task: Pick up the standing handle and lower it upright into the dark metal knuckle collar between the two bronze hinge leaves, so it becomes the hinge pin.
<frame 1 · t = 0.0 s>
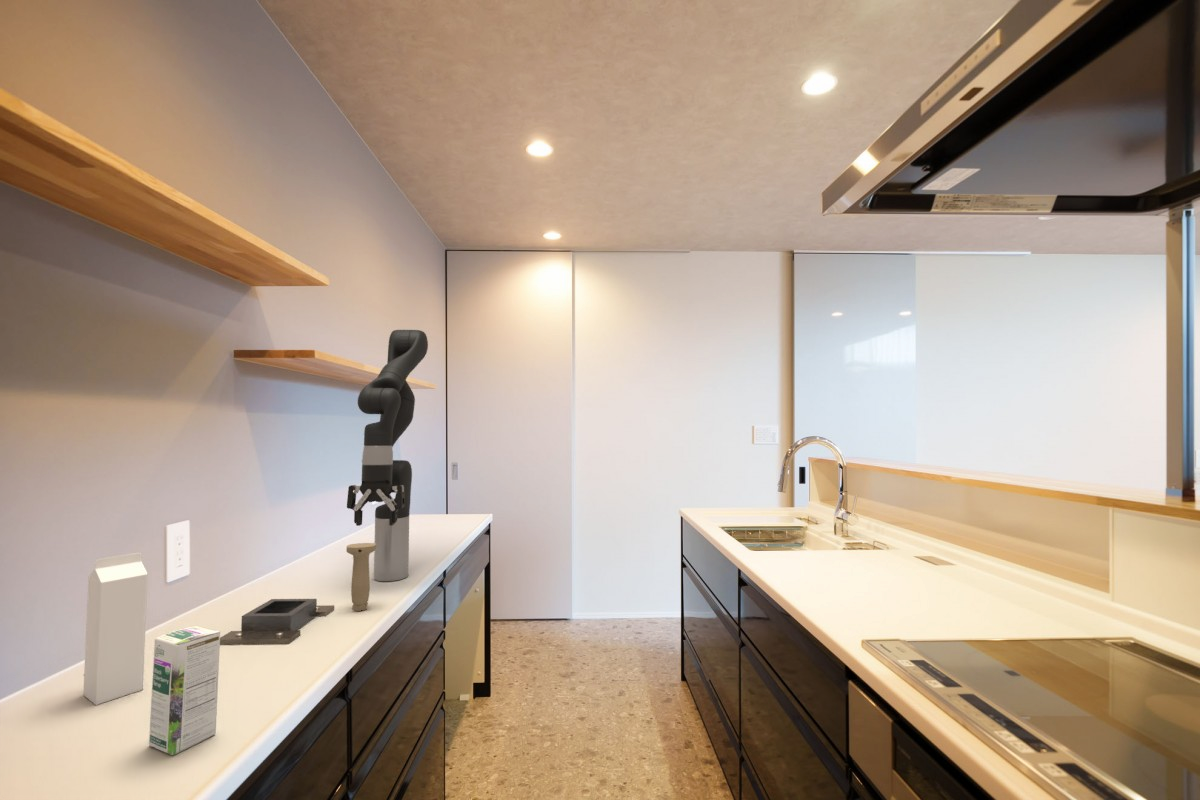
hand: (375, 525, 143), 17 cm above the table, tool pointing down, fingers open, 8 cm apart
syrup box: (183, 741, 75), on the table
handle: (360, 610, 128), on the table
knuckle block: (280, 625, 118), on the table
milk: (113, 693, 89), on the table
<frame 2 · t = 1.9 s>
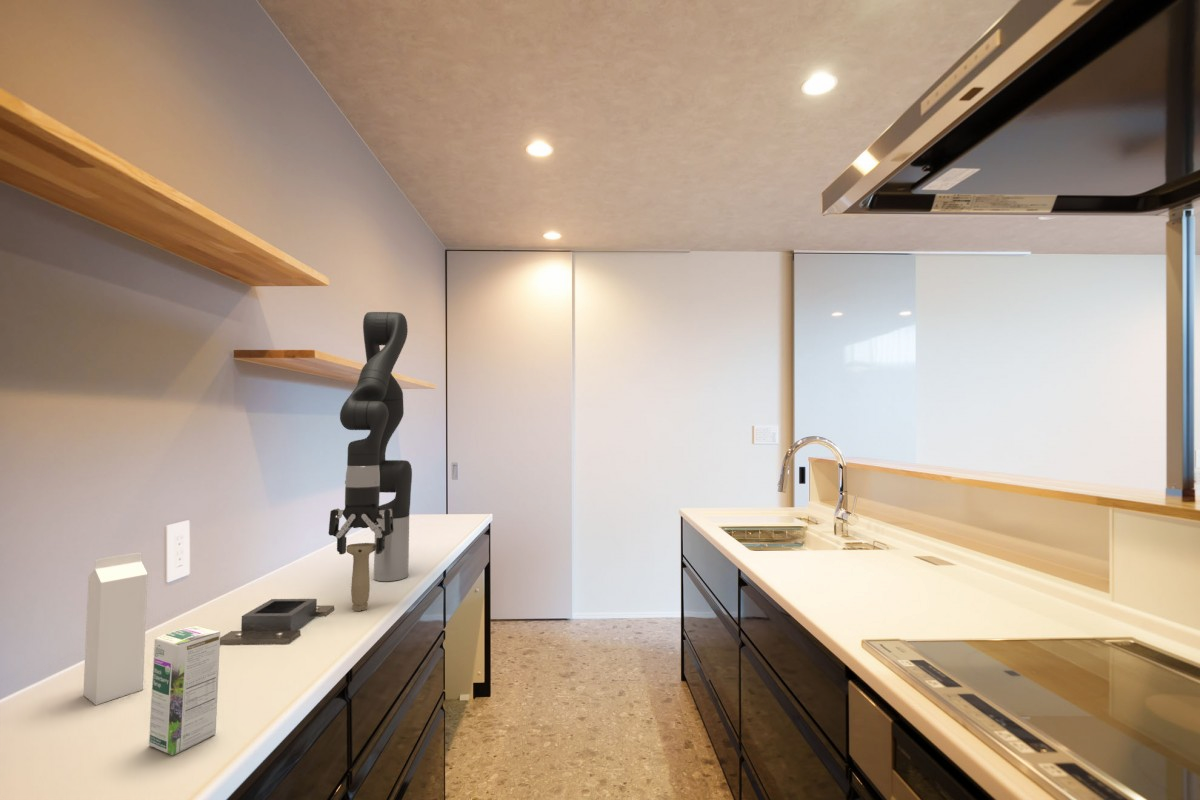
hand: (360, 553, 129), 13 cm above the table, tool pointing down, fingers open, 8 cm apart
nothing on the table moved.
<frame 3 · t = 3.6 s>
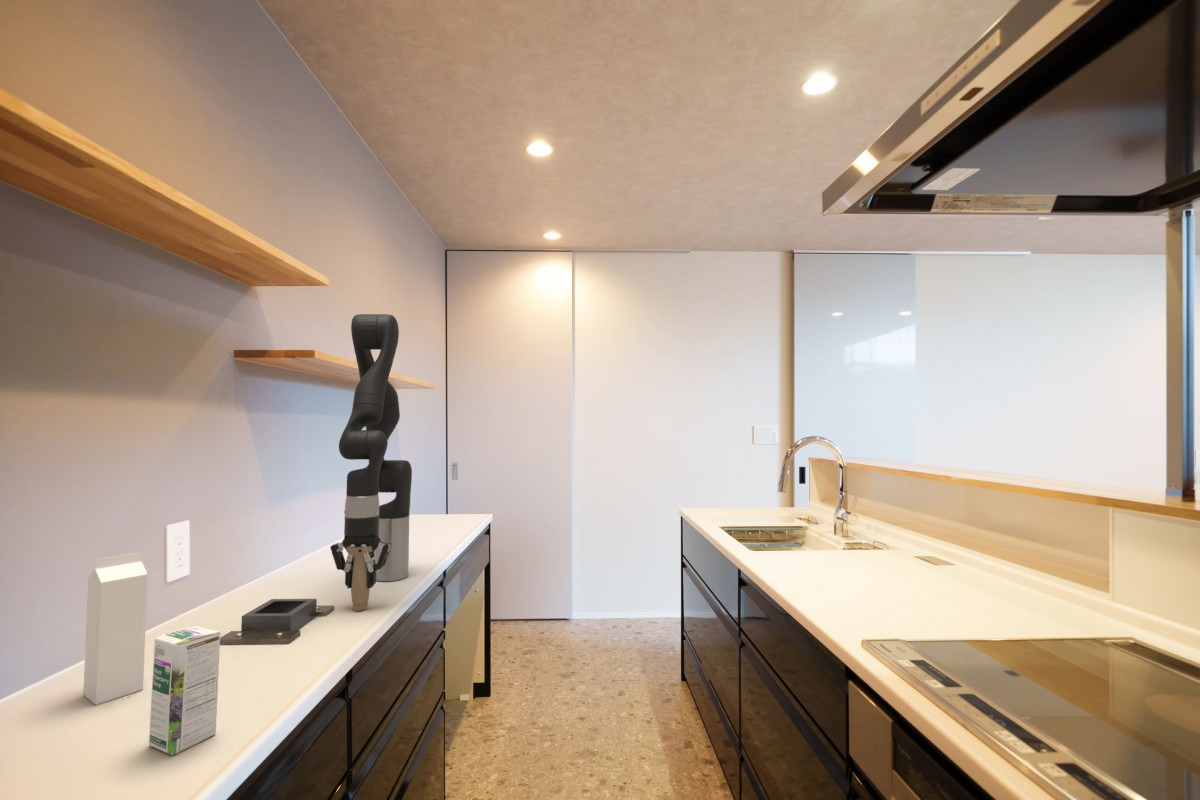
hand: (360, 586, 129), 5 cm above the table, tool pointing down, fingers closed on handle, 4 cm apart
handle: (360, 610, 128), on the table, touching gripper
everything else where it was.
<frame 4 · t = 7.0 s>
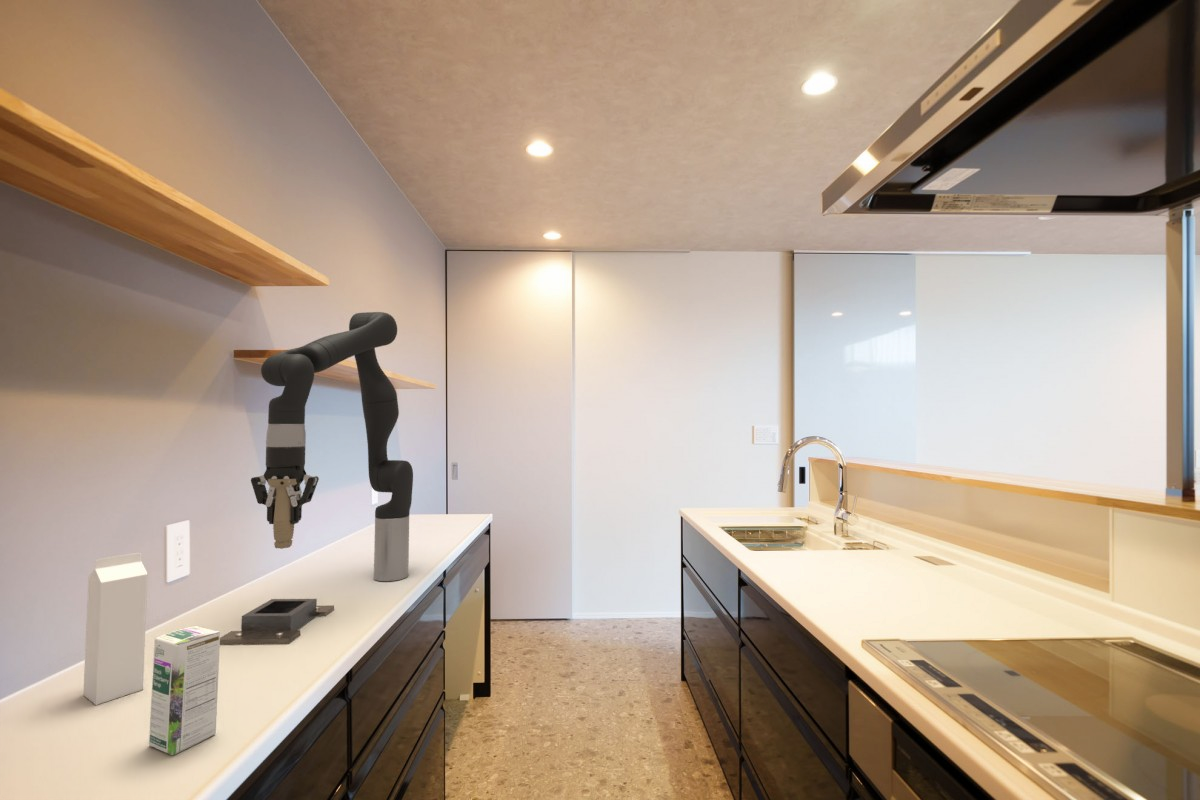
hand: (283, 523, 119), 22 cm above the table, tool pointing down, fingers closed on handle, 4 cm apart
handle: (283, 548, 119), point 17 cm above the table, touching gripper
everything else where it was.
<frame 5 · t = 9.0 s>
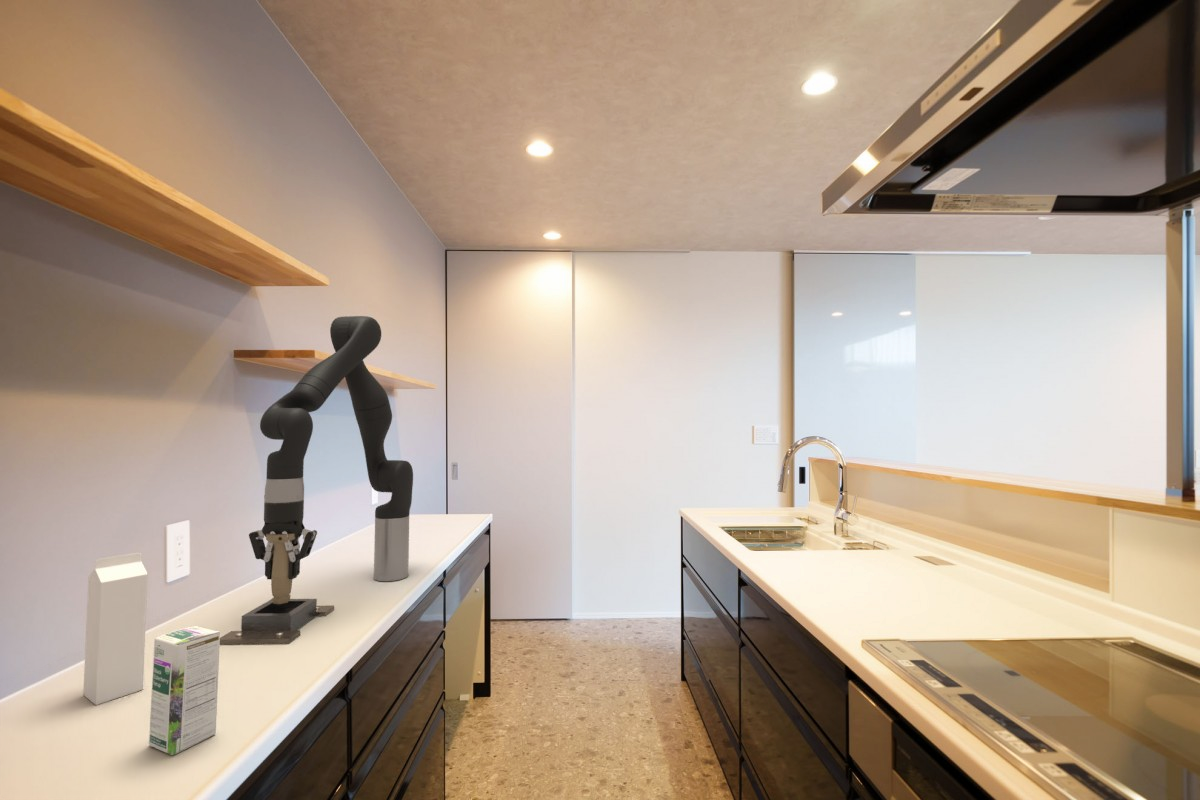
hand: (282, 578, 118), 10 cm above the table, tool pointing down, fingers closed on handle, 4 cm apart
handle: (281, 603, 118), point 5 cm above the table, touching gripper
everything else where it was.
when the fingers open (7 cm above the table, at t = 10.5 s): handle drops 2 cm, resting in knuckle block.
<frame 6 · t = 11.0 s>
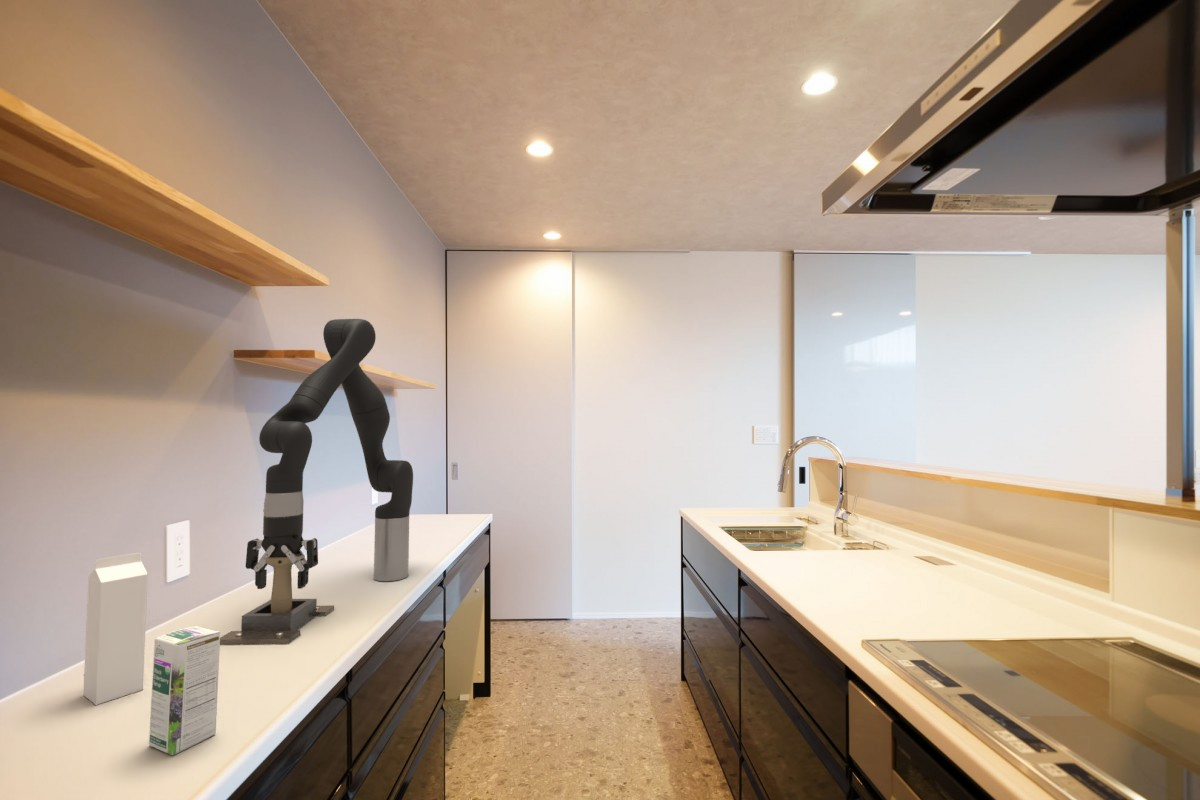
hand: (281, 587, 118), 8 cm above the table, tool pointing down, fingers open, 8 cm apart
handle: (280, 626, 118), resting in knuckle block
everything else where it was.
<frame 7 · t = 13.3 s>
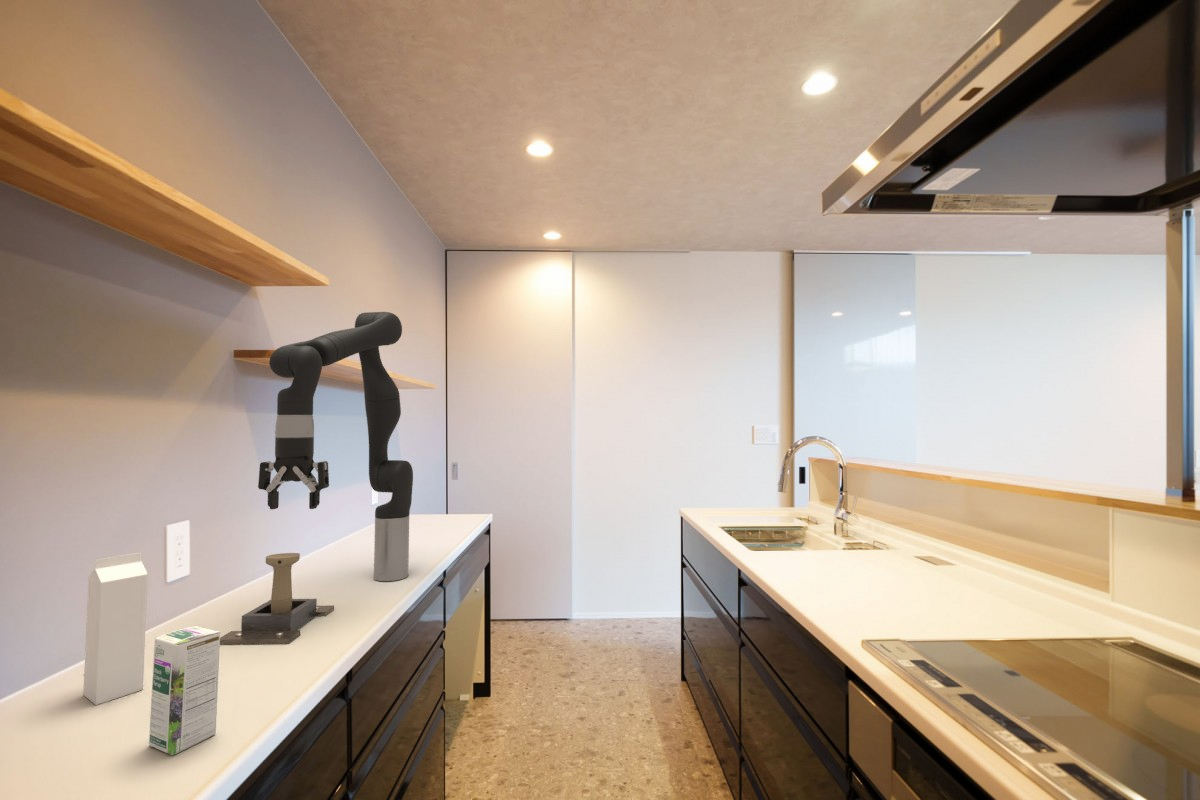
hand: (293, 508, 121), 25 cm above the table, tool pointing down, fingers open, 8 cm apart
nothing on the table moved.
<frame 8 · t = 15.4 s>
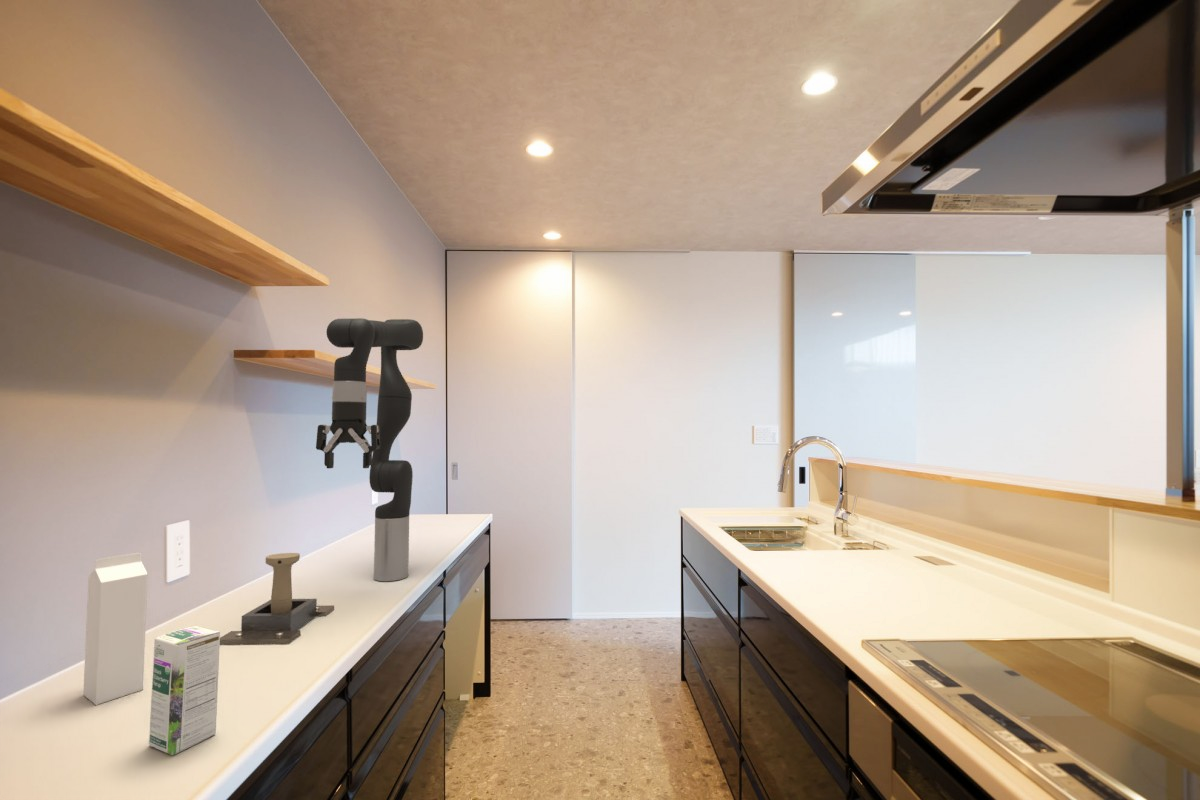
hand: (347, 468, 131), 33 cm above the table, tool pointing down, fingers open, 8 cm apart
nothing on the table moved.
at the end: handle 0.1 cm off-centre on the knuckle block, point 0.0 cm above the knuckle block's base; handle tilted 0°; the gripper is holding nothing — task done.
